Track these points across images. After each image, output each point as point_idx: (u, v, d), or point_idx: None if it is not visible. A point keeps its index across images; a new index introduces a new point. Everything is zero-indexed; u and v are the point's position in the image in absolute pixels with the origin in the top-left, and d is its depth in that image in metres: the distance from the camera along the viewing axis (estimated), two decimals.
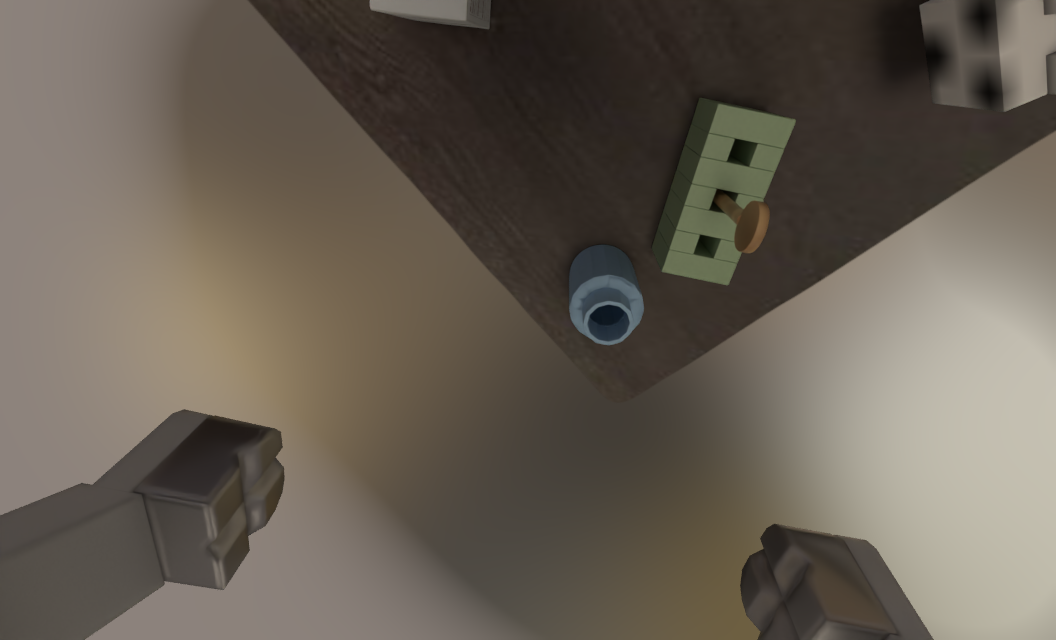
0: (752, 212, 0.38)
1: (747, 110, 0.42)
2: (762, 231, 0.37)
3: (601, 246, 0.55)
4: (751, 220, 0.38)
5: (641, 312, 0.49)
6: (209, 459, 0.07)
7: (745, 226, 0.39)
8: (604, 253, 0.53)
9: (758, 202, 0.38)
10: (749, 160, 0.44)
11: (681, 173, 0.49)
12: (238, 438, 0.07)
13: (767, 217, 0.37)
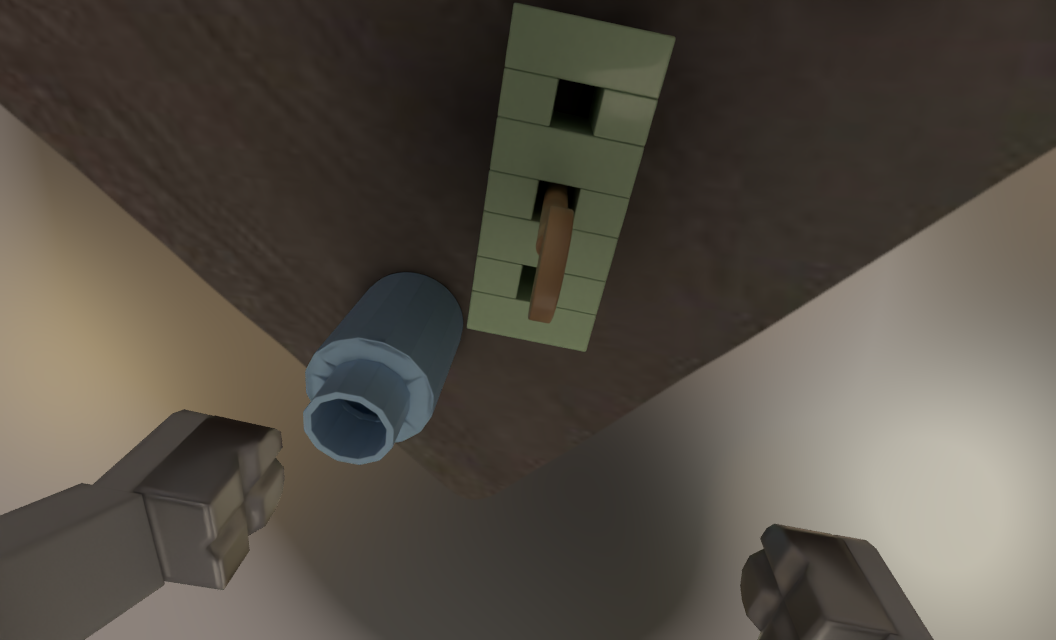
0: None
1: (574, 17, 0.20)
2: (553, 281, 0.15)
3: (400, 276, 0.33)
4: (541, 251, 0.17)
5: (430, 400, 0.28)
6: (209, 459, 0.07)
7: (538, 263, 0.17)
8: (393, 290, 0.31)
9: (553, 210, 0.16)
10: (595, 124, 0.23)
11: None
12: (239, 437, 0.07)
13: (564, 247, 0.15)
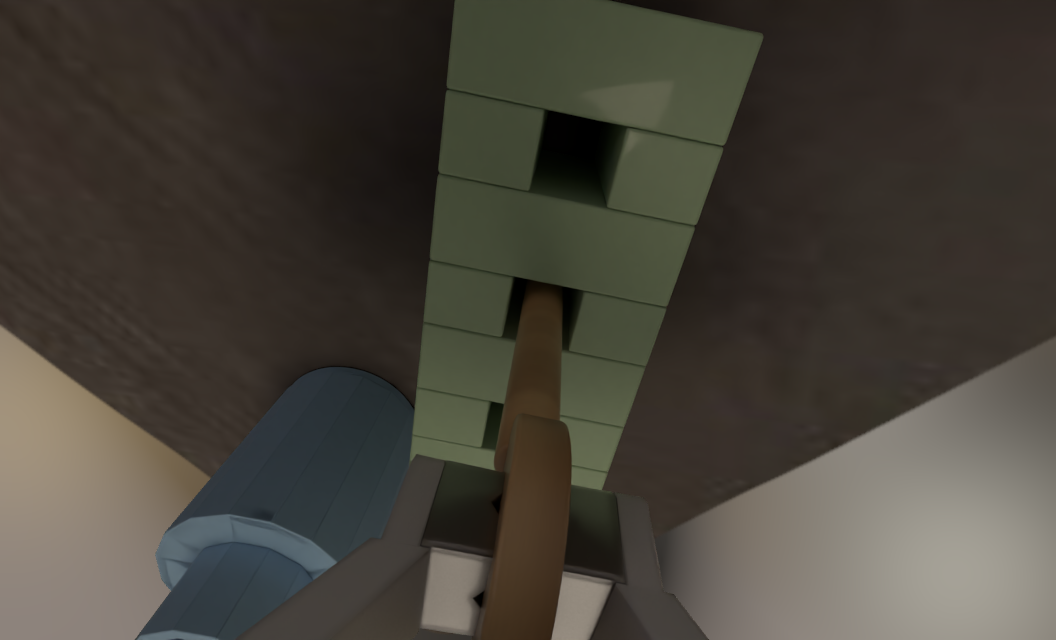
0: (502, 499, 0.07)
1: None
2: None
3: (328, 374, 0.24)
4: None
5: None
6: (470, 508, 0.07)
7: None
8: (310, 403, 0.22)
9: (521, 460, 0.06)
10: (609, 186, 0.13)
11: None
12: (483, 485, 0.07)
13: (544, 597, 0.06)
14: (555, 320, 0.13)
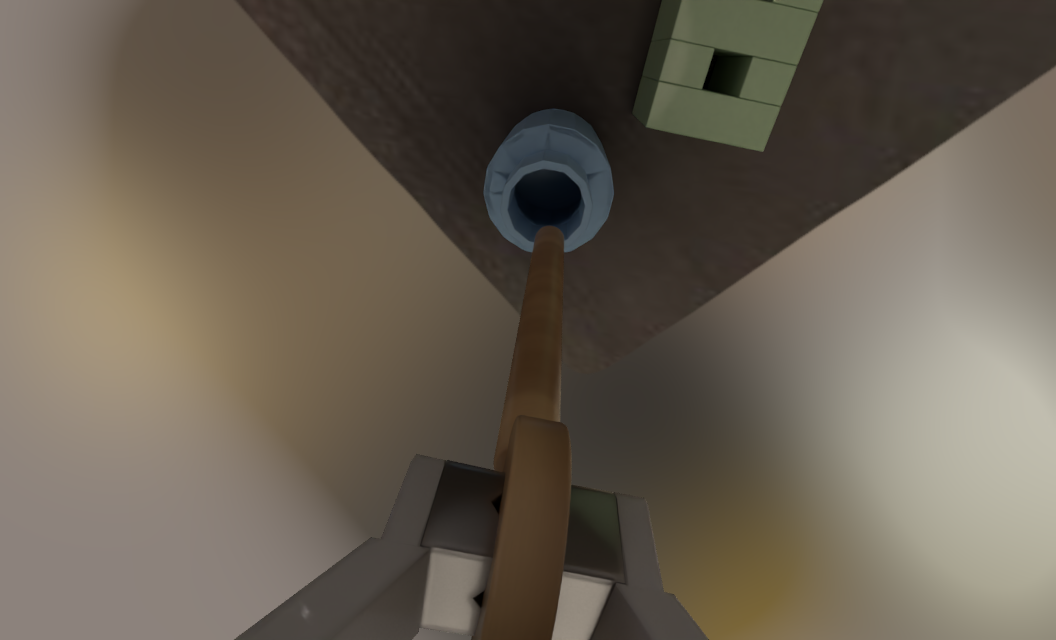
0: (501, 501, 0.07)
1: None
2: None
3: (549, 109, 0.34)
4: None
5: (610, 199, 0.28)
6: (470, 508, 0.07)
7: None
8: (551, 112, 0.32)
9: (520, 462, 0.06)
10: None
11: None
12: (483, 484, 0.07)
13: (544, 600, 0.06)
14: (555, 321, 0.13)
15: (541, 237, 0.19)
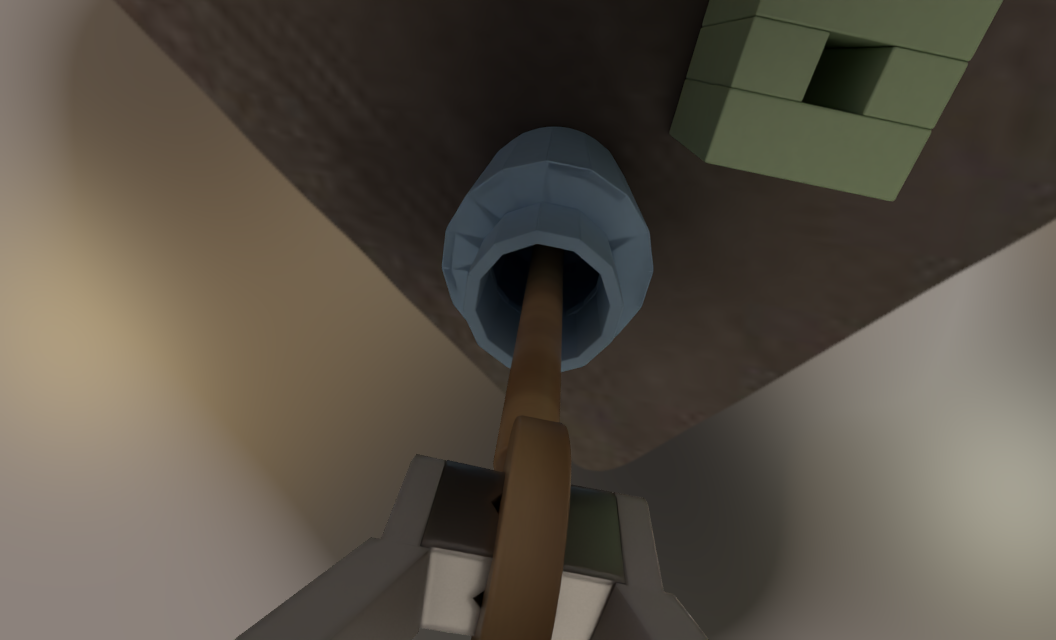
0: (501, 502, 0.07)
1: None
2: None
3: (549, 128, 0.23)
4: None
5: (646, 278, 0.17)
6: (470, 508, 0.07)
7: None
8: (551, 134, 0.21)
9: (520, 462, 0.06)
10: None
11: None
12: (483, 484, 0.07)
13: (544, 600, 0.06)
14: (555, 321, 0.13)
15: None
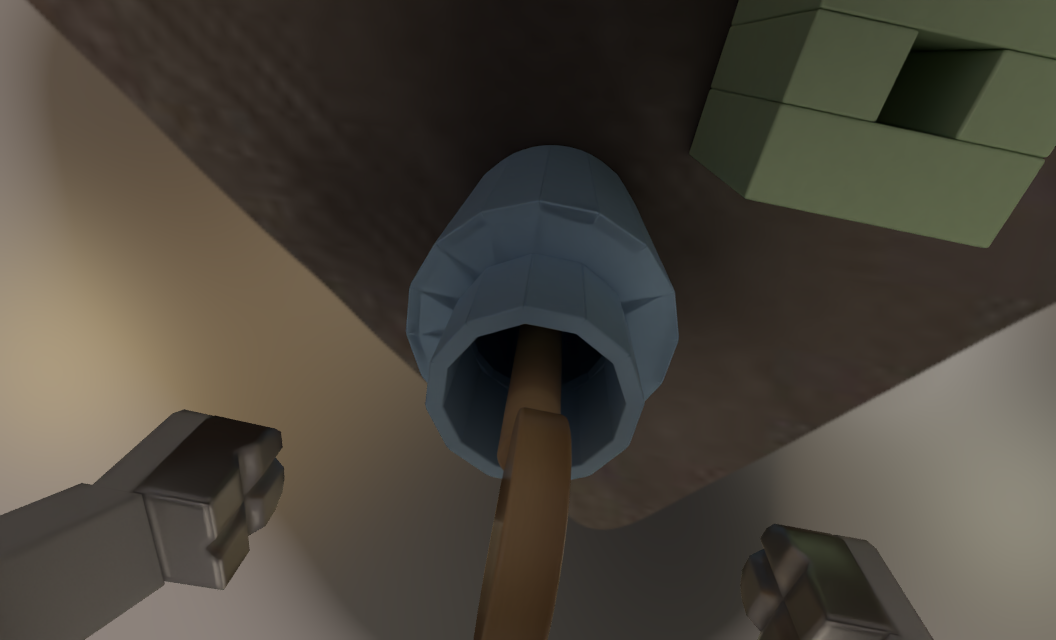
0: (506, 488, 0.07)
1: None
2: None
3: (545, 147, 0.19)
4: (497, 534, 0.07)
5: (669, 348, 0.13)
6: (209, 459, 0.07)
7: (496, 526, 0.08)
8: (548, 157, 0.17)
9: (524, 449, 0.07)
10: None
11: None
12: (238, 438, 0.07)
13: (546, 576, 0.06)
14: None
15: None
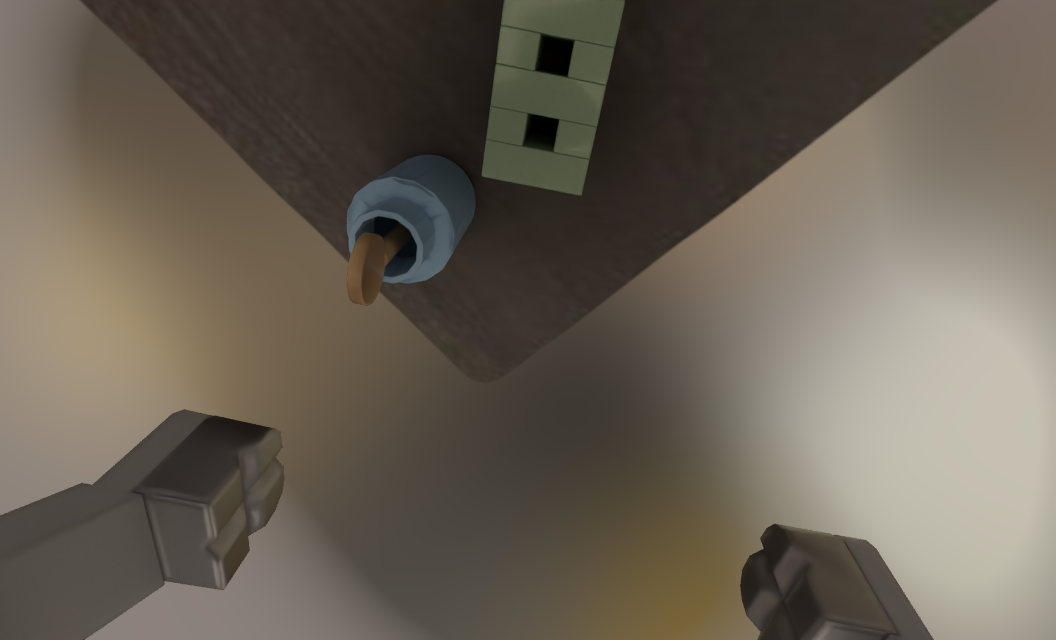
0: None
1: None
2: (356, 278, 0.26)
3: (422, 155, 0.39)
4: None
5: (451, 236, 0.33)
6: (209, 459, 0.07)
7: None
8: (417, 160, 0.37)
9: (361, 236, 0.27)
10: None
11: None
12: (239, 438, 0.07)
13: (361, 258, 0.26)
14: None
15: None
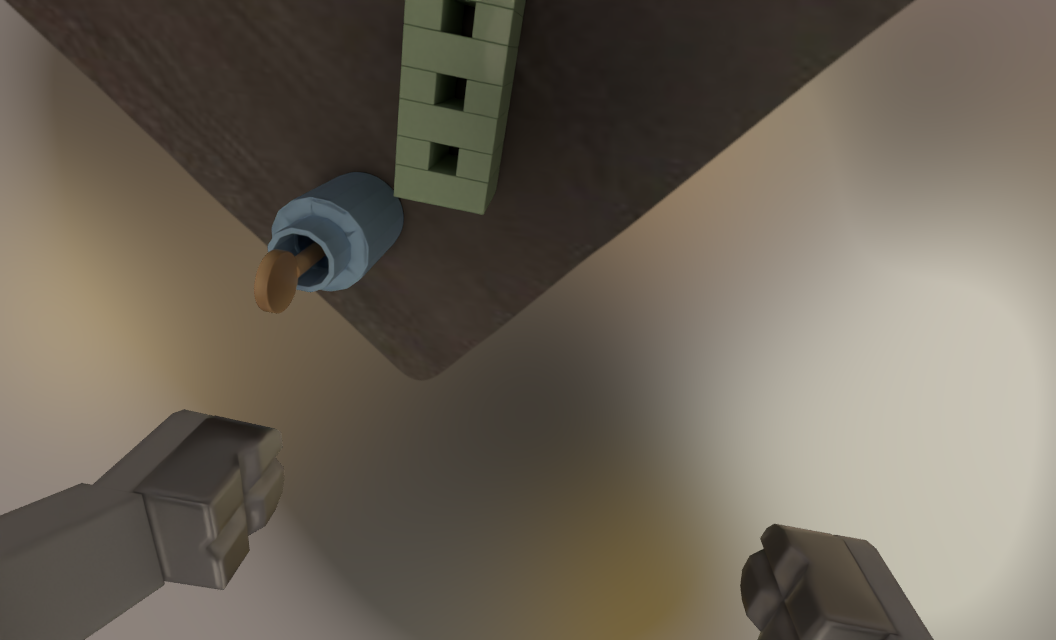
0: None
1: None
2: (262, 290, 0.30)
3: (351, 173, 0.43)
4: None
5: (366, 250, 0.37)
6: (209, 459, 0.07)
7: None
8: (343, 179, 0.41)
9: (269, 252, 0.30)
10: (473, 29, 0.32)
11: None
12: (238, 438, 0.07)
13: (267, 273, 0.30)
14: None
15: None
